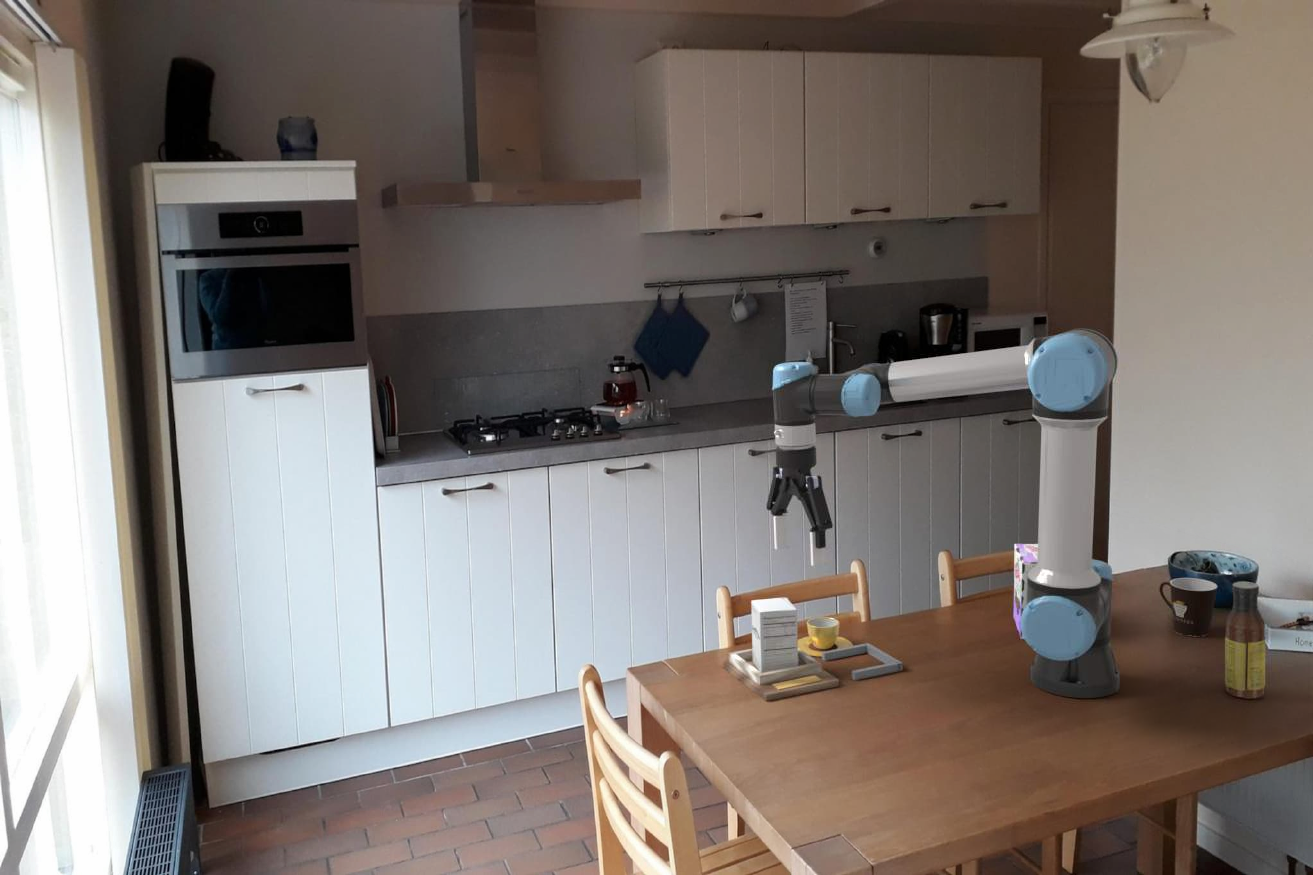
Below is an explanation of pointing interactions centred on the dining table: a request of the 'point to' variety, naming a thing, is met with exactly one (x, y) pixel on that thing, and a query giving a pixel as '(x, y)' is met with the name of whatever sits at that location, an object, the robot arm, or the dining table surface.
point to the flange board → (780, 676)
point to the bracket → (890, 662)
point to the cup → (822, 636)
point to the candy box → (1022, 577)
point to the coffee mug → (1191, 604)
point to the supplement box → (774, 634)
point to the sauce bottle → (1245, 644)
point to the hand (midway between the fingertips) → (799, 556)
